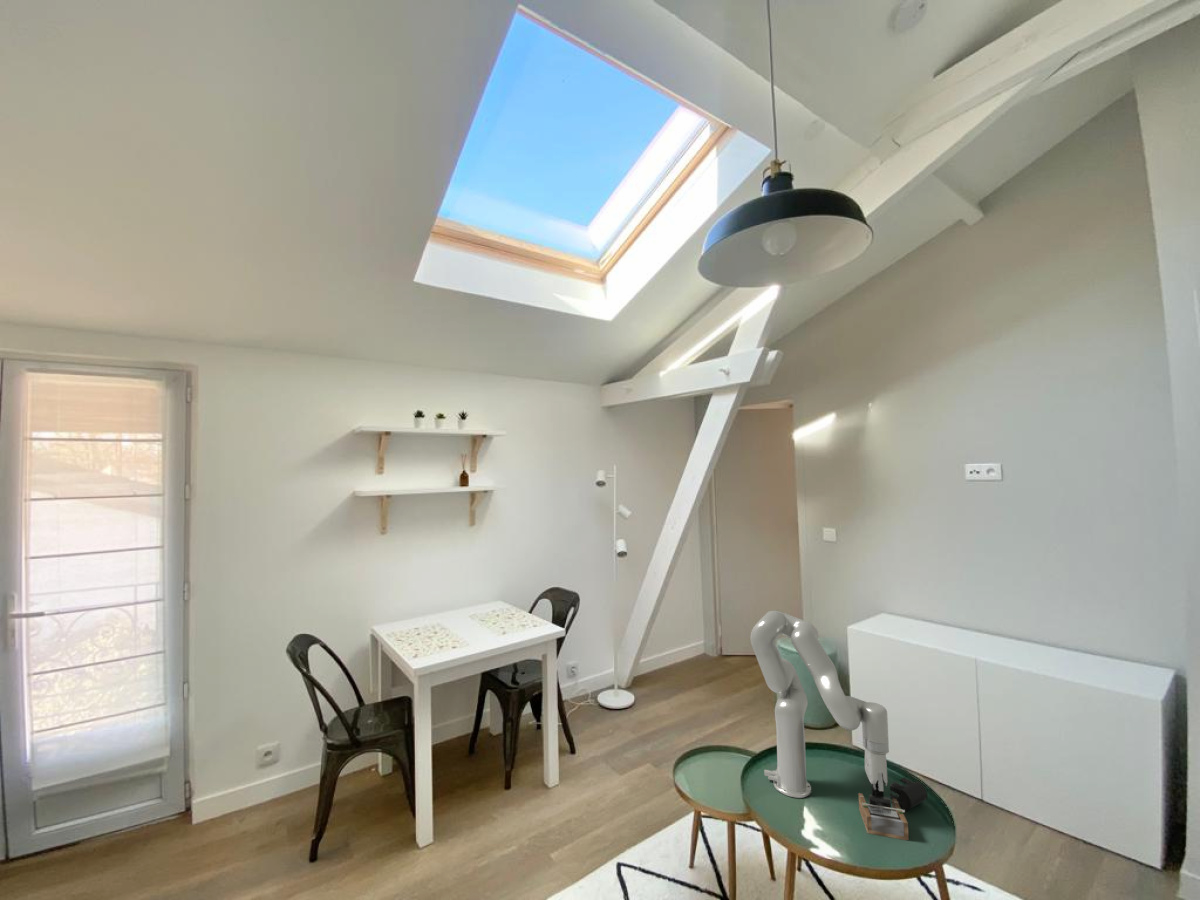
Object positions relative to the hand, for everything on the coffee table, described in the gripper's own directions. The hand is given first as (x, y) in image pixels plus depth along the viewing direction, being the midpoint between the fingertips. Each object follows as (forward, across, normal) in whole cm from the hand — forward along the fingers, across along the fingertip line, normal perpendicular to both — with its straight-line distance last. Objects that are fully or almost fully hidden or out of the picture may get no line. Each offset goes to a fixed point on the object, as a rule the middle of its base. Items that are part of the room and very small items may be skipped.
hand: (877, 801), depth 162 cm
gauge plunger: (+2, +5, 0) cm, 6 cm away
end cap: (+4, -8, +11) cm, 14 cm away
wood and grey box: (+4, +6, 0) cm, 7 cm away
